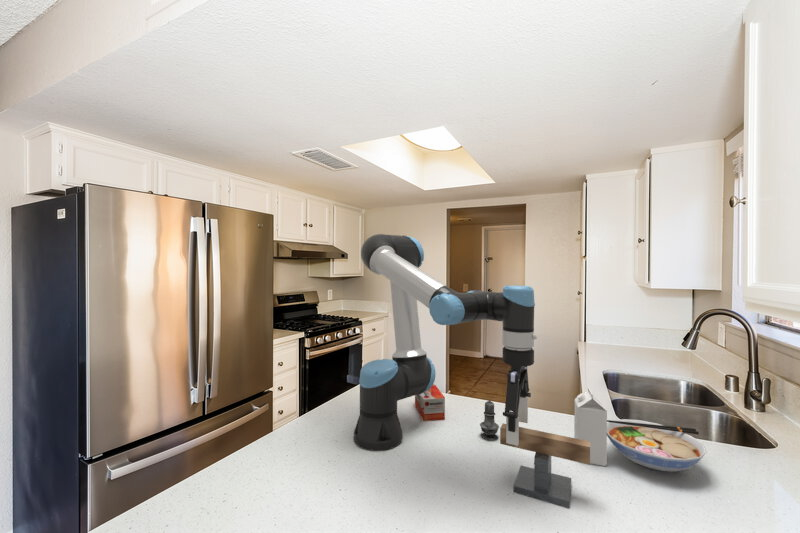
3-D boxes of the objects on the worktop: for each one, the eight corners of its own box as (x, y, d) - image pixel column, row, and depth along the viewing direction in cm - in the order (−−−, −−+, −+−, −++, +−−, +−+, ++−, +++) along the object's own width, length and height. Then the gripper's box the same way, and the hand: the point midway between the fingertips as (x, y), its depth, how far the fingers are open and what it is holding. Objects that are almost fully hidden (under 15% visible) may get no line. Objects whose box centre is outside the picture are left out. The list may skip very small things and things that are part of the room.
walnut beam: (500, 443, 90) (500, 427, 90) (502, 438, 93) (502, 423, 93) (590, 464, 81) (590, 447, 81) (590, 458, 83) (590, 441, 83)
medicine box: (414, 405, 139) (414, 384, 139) (434, 404, 140) (434, 383, 140) (423, 422, 124) (423, 399, 124) (445, 420, 125) (445, 397, 125)
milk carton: (601, 454, 103) (601, 388, 103) (606, 467, 96) (607, 396, 96) (574, 449, 105) (574, 385, 105) (577, 462, 98) (578, 393, 98)
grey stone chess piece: (499, 442, 109) (499, 402, 109) (479, 440, 111) (480, 401, 111) (498, 433, 115) (498, 396, 115) (479, 431, 116) (479, 394, 116)
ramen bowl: (608, 477, 92) (608, 445, 92) (593, 437, 113) (593, 411, 113) (731, 499, 83) (731, 464, 83) (689, 451, 104) (690, 423, 104)
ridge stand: (513, 491, 85) (513, 454, 85) (520, 470, 94) (520, 436, 94) (569, 508, 80) (569, 467, 80) (571, 484, 88) (571, 447, 88)
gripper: (525, 360, 77) (525, 459, 77) (540, 339, 99) (539, 416, 99) (490, 356, 80) (490, 450, 80) (512, 337, 102) (511, 411, 102)
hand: (517, 432), depth 90 cm, fingers open, 13 cm apart
